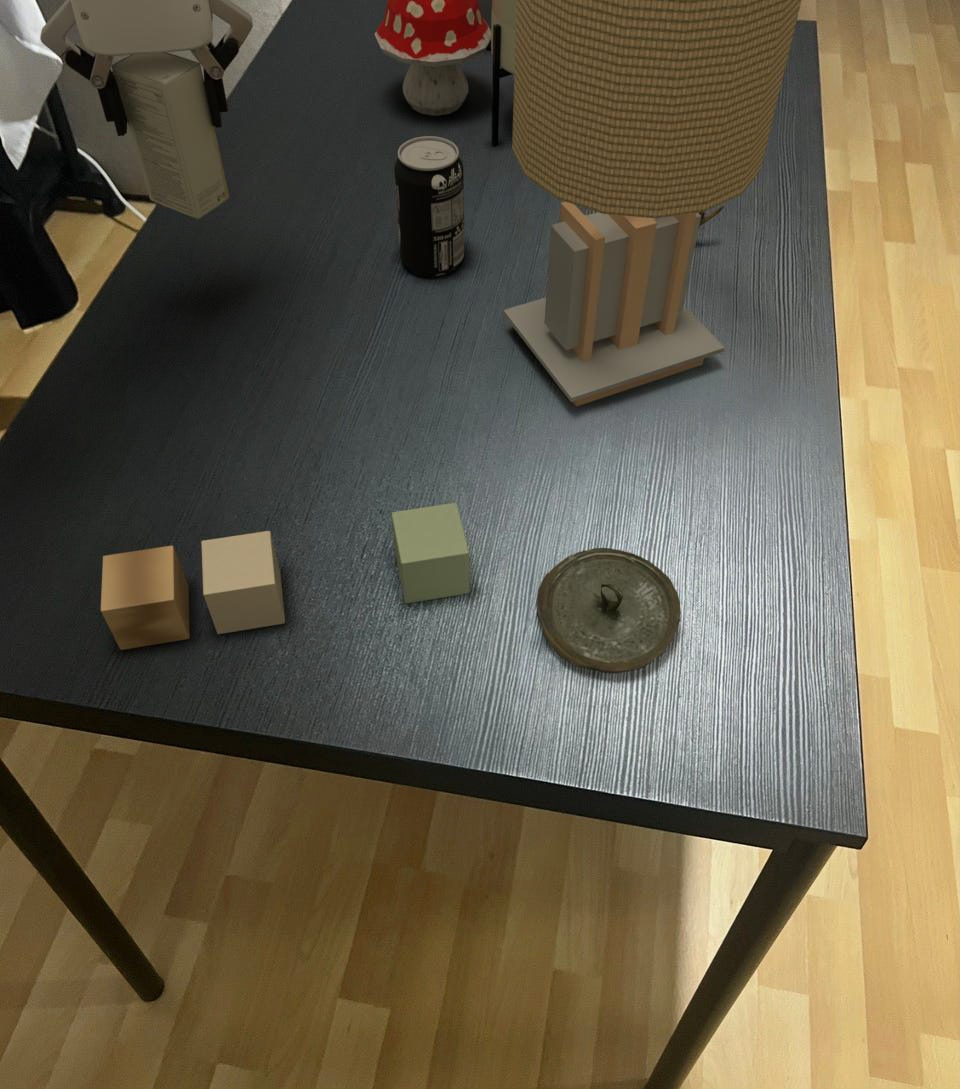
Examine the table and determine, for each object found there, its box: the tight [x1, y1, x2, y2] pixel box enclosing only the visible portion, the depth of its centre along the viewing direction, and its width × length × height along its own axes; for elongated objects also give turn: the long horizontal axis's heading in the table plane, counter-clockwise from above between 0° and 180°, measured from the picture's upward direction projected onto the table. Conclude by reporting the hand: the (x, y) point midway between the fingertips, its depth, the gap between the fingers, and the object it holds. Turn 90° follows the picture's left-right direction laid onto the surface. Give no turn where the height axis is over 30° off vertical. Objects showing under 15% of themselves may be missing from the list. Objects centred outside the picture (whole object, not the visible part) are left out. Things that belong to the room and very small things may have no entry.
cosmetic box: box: [111, 52, 230, 220], centre depth 85 cm, size 6×4×12 cm
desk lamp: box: [502, 0, 802, 407], centre depth 80 cm, size 20×20×35 cm
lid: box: [535, 547, 682, 674], centre depth 73 cm, size 11×10×5 cm
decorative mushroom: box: [374, 0, 491, 117], centre depth 117 cm, size 14×14×15 cm
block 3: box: [390, 502, 471, 604], centre depth 75 cm, size 5×5×5 cm
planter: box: [490, 0, 517, 147], centre depth 110 cm, size 15×16×23 cm
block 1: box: [100, 545, 191, 651], centre depth 73 cm, size 5×5×5 cm
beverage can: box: [393, 135, 465, 277], centre depth 98 cm, size 7×7×12 cm
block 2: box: [200, 530, 286, 635], centre depth 73 cm, size 5×5×5 cm
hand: (169, 122), depth 84 cm, fingers closed on cosmetic box, 7 cm apart
